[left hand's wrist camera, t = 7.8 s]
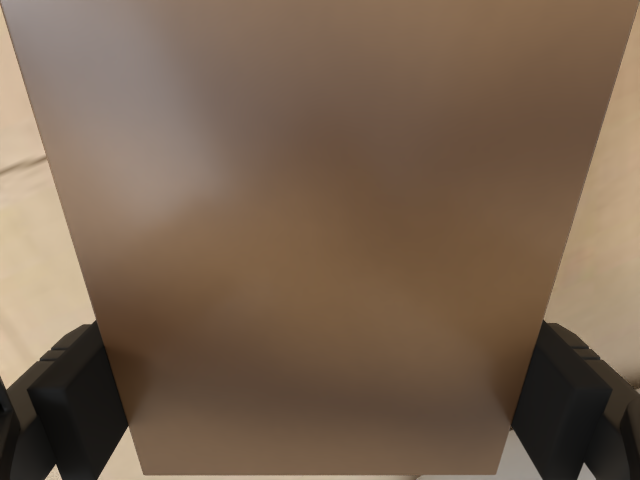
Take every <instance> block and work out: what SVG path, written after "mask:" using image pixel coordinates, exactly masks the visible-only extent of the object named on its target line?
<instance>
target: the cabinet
mask: <svg viewBox="0 0 640 480" xmlns="http://www.w3.org/2000/svg"><path fill="white" fill-rule="evenodd" d="M639 2H640V0H0V5H1V8H2V12H3V15H4V18H5V21H6V25H7V28H8V31H9V35H10V38H11V41H12V44H13V48H14V51H15V54H16V58H17V61H18V64H19V67H20V71H21V74H22V77H23V81H24V84H25V87H26V90H27V94H28V97H29V100H30V104H31V107H32V110H33V113H34V117H35V120H36V123H37V127H38V130H39V133H40V136H41V140H42V143H43V146H44V150H45V153H46V156H47V159H48V163H49V166H50V169H51V173H52V176H53V179H54V182H55V186H56V189H57V192H58V196H59V199H60V202H61V205H62V209H63V212H64V215H65V219H66V222H67V225H68V228H69V232H70V235H71V238H72V241H73V245H74V248H75V251H76V255H77V258H78V261H79V264H80V268H81V271H82V274H83V278H84V281H85V284H86V287H87V291H88V294H89V297H90V301H91V304H92V307H93V310H94V314H95V317H96V320H97V324H98V327H99V330H100V333H101V337H102V340H103V343H104V347H105V350H106V353H107V356H108V360H109V363H110V366H111V370H112V373H113V376H114V379H115V383H116V386H117V389H118V393H119V396H120V399H121V402H122V406H123V409H124V412H125V416H126V419H127V422H128V425H129V429H130V432H131V435H132V439H133V442H134V445H135V448H136V452H137V455H138V458H139V462H140V465H141V468H142V471H143V475H496V473H497V470H498V467H499V463H500V460H501V457H502V453H503V450H504V447H505V444H506V440H507V437H508V434H509V430H510V427H511V424H512V420H513V417H514V414H515V411H516V407H517V404H518V401H519V397H520V394H521V391H522V388H523V384H524V381H525V378H526V374H527V371H528V368H529V364H530V361H531V358H532V355H533V351H534V348H535V345H536V341H537V338H538V335H539V331H540V328H541V325H542V322H543V318H544V315H545V312H546V308H547V305H548V302H549V298H550V295H551V292H552V289H553V285H554V282H555V279H556V275H557V272H558V269H559V266H560V262H561V259H562V256H563V252H564V249H565V246H566V242H567V239H568V236H569V233H570V229H571V226H572V223H573V219H574V216H575V213H576V209H577V206H578V203H579V200H580V196H581V193H582V190H583V186H584V183H585V180H586V176H587V173H588V170H589V167H590V163H591V160H592V157H593V153H594V150H595V147H596V144H597V140H598V137H599V134H600V130H601V127H602V124H603V120H604V117H605V114H606V111H607V107H608V104H609V101H610V97H611V94H612V91H613V87H614V84H615V81H616V78H617V74H618V71H619V68H620V64H621V61H622V58H623V54H624V51H625V48H626V45H627V41H628V38H629V35H630V31H631V28H632V25H633V22H634V18H635V15H636V12H637V8H638V5H639Z"/></svg>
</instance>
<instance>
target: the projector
mask: <svg viewBox="0 0 640 480" xmlns="http://www.w3.org/2000/svg"><path fill="white" fill-rule="evenodd" d="M635 390H636V391H637V392H638V393H639V394H640V388H639V389H635ZM416 480H542V478H541V476H540V474H539V473H538V471H537V469H536V468H535V466H534V464H533V462H532V461H531V459H530V457H529V456H528V454H527V452H526V450H525V449H524V447H523V445H522V444H521V442H520V440H519V438H518V437H517V435H516V433H515V431H514V430H511V431H509V434H508V437H507V440H506V444H505V447H504V450H503V453H502V457H501V460H500V463H499V467H498V470H497V473H496V475H422V476H420V477H419V478H417V479H416ZM577 480H596V478H595V477H594V476H593V474H592V473H591V471H590V470H589V469H588V467H587V466H586V464H585V463H584V464H583V466H582V469H581V471H580V474H579V476H578V479H577Z"/></svg>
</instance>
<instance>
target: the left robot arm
mask: <svg viewBox="0 0 640 480" xmlns="http://www.w3.org/2000/svg"><path fill="white" fill-rule="evenodd" d="M128 426H129V425H128V422H127V419H126V416H125V412H124V409H123V406H122V402H121V399H120V396H119V393H118V389H117V386H116V383H115V379H114V376H113V373H112V370H111V366H110V363H109V360H108V356H107V353H106V350H105V347H104V343H103V340H102V337H101V333H100V330H99V327H98V324H97V320H95V321H94V322H93V323H92V324H83V325H82V326H80V327H78V328H76V329H75V330H73V331H71V332H70V333H68V334H66V335H65V336H64V337H62V338H61V339H60V340H59V341H58V342H57V343H56V344H55V345H54V346H53V347H52V348H51V351H48V352H46V353H45V354H44V355H43V356H42V357H41V358H40V361H37V362H36V363H35V364H34V365H33V366H31V367H30V368H29V369H28V370H27V371H26V372H25V373H24V374H23V375H22V376H21V377H20V378H19V379H18V380H17V381H15V382H14V383H13V384H12V385H11V386H10V387H9V388H8V389H7V390H6V388H5V386H4V384H3V381H2V379H1V377H0V480H45V478H46V477H47V476H48V474H49V473H50V471H51V470H52V469H53V467H54V466H55V464H56V465H57V468H58V470H59V473H60V475H61V478H62V480H97V479H98V477H99V476H100V474H101V472H102V470H103V469H104V467H105V465H106V463H107V462H108V460H109V458H110V457H111V455H112V453H113V451H114V450H115V448H116V446H117V445H118V443H119V441H120V439H121V438H122V436H123V434H124V433H125V431H126V429H127V427H128ZM511 426H512V428H513V430H514V431H515V433H516V435H517V437H518V438H519V440H520V442H521V444H522V445H523V447H524V449H525V450H526V452H527V454H528V456H529V457H530V459H531V461H532V462H533V464H534V466H535V468H536V469H537V471H538V473H539V474H540V476H541V478H542V480H577V479H578V476H579V474H580V471H581V469H582V466H583V464H584V463H585V464H586V466H587V467H588V469H589V470H590V471H591V473H592V474H593V476H594V477H595V478H596V480H640V394H639V393H638V392H637V391H636V390H635V389H634V388H633V387H632V386H630V385H629V384H628V383H627V382H626V381H625V380H624V379H623V378H622V377H621V376H620V375H619V374H618V373H616V372H615V371H614V370H613V369H612V368H611V367H610V366H609V365H608V364H607V363H606V362H605V361H604V360H600V357H599V356H598V355H597V354H596V353H595V352H594V351H593V350H592V349H589V346H587V345H586V344H585V343H584V342H583V341H582V340H581V339H580V338H579V337H578V336H577V335H576V334H574V333H572V332H571V331H569V330H567V329H566V328H564V327H562V326H560V325H559V324H557V323H546V322H545V321H544V320H543V322H542V325H541V328H540V331H539V335H538V338H537V341H536V345H535V348H534V351H533V355H532V358H531V361H530V364H529V368H528V371H527V374H526V378H525V381H524V384H523V388H522V391H521V394H520V397H519V401H518V404H517V407H516V411H515V414H514V417H513V420H512V424H511Z"/></svg>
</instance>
